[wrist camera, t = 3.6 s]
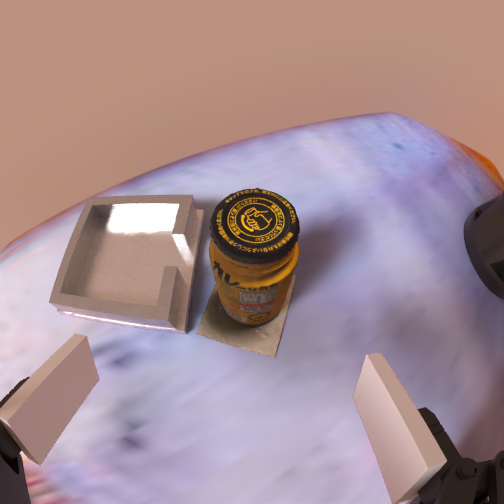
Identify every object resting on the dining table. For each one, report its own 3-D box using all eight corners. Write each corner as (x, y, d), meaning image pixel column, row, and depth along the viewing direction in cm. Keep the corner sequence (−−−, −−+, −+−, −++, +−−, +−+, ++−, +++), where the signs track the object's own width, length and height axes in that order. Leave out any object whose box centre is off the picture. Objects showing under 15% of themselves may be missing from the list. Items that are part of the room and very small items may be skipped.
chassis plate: (204, 215, 31) (200, 194, 28) (186, 333, 24) (177, 323, 21) (95, 214, 31) (83, 197, 28) (61, 314, 24) (43, 302, 21)
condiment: (295, 275, 27) (322, 191, 17) (274, 357, 23) (295, 318, 12) (226, 257, 28) (213, 168, 18) (196, 334, 24) (155, 277, 14)
